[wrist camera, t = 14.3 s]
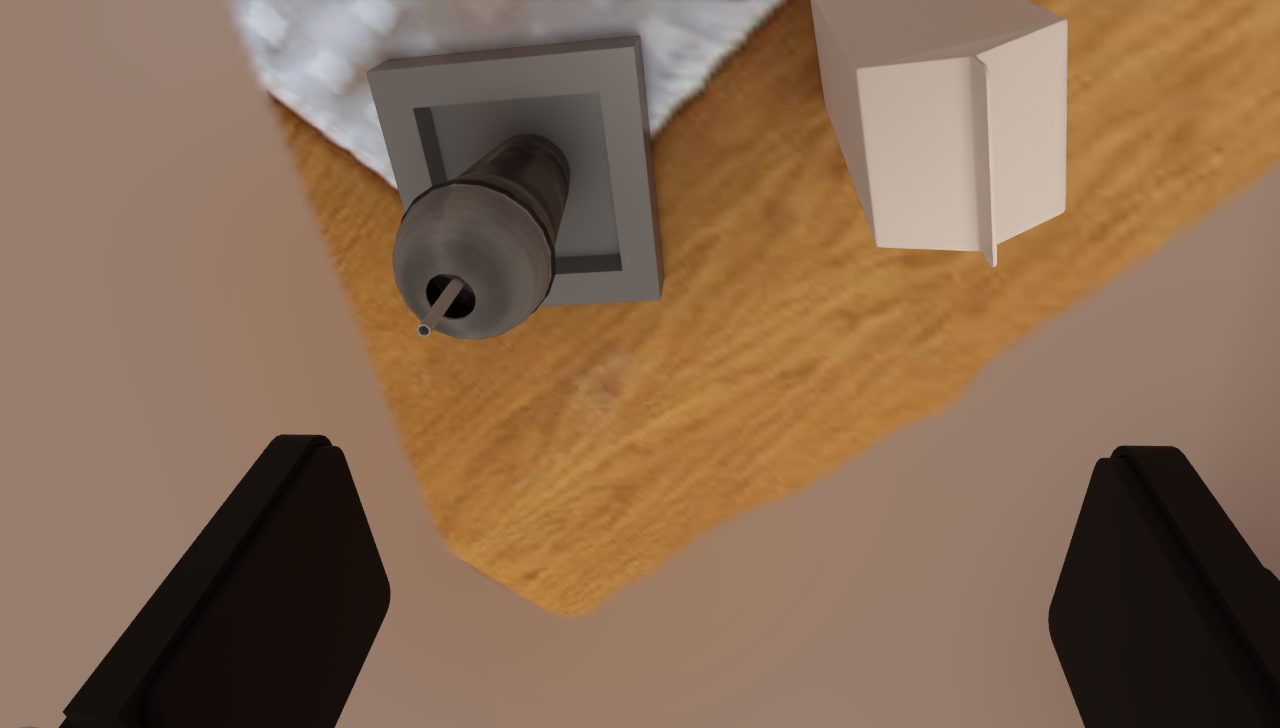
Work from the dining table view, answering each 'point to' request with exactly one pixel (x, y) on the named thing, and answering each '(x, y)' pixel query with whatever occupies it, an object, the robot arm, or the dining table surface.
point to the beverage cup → (484, 241)
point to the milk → (948, 116)
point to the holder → (559, 111)
